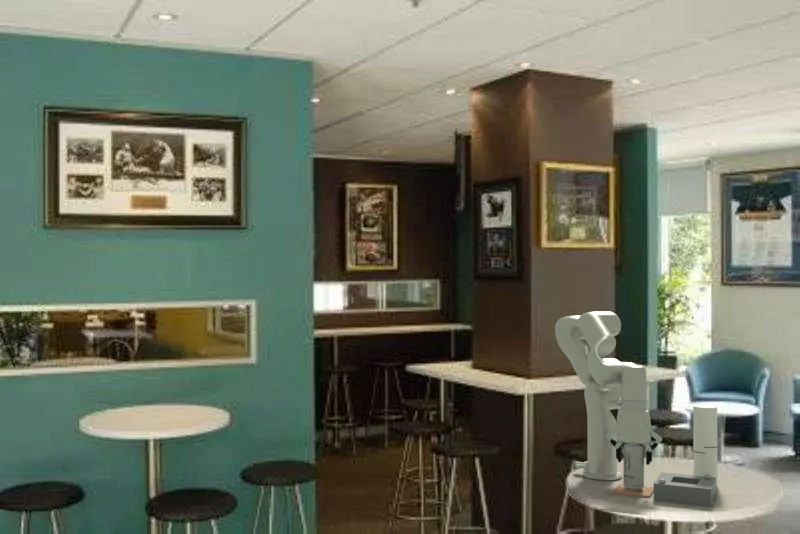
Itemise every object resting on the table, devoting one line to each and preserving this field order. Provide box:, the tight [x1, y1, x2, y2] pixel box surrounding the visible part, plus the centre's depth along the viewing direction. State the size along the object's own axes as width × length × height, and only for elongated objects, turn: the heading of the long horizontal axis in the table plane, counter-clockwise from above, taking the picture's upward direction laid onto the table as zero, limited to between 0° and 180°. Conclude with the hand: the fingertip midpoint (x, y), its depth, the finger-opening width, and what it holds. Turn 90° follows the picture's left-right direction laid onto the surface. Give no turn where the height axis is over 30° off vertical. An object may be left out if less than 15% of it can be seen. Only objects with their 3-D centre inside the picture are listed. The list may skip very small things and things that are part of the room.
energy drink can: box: [622, 443, 645, 492], centre depth 257 cm, size 6×6×15 cm
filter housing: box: [653, 472, 717, 508], centre depth 251 cm, size 16×16×6 cm
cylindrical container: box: [692, 404, 719, 488], centre depth 265 cm, size 7×7×25 cm
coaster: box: [611, 483, 654, 499], centre depth 257 cm, size 11×11×1 cm
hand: (633, 462), depth 257 cm, fingers open, 8 cm apart
